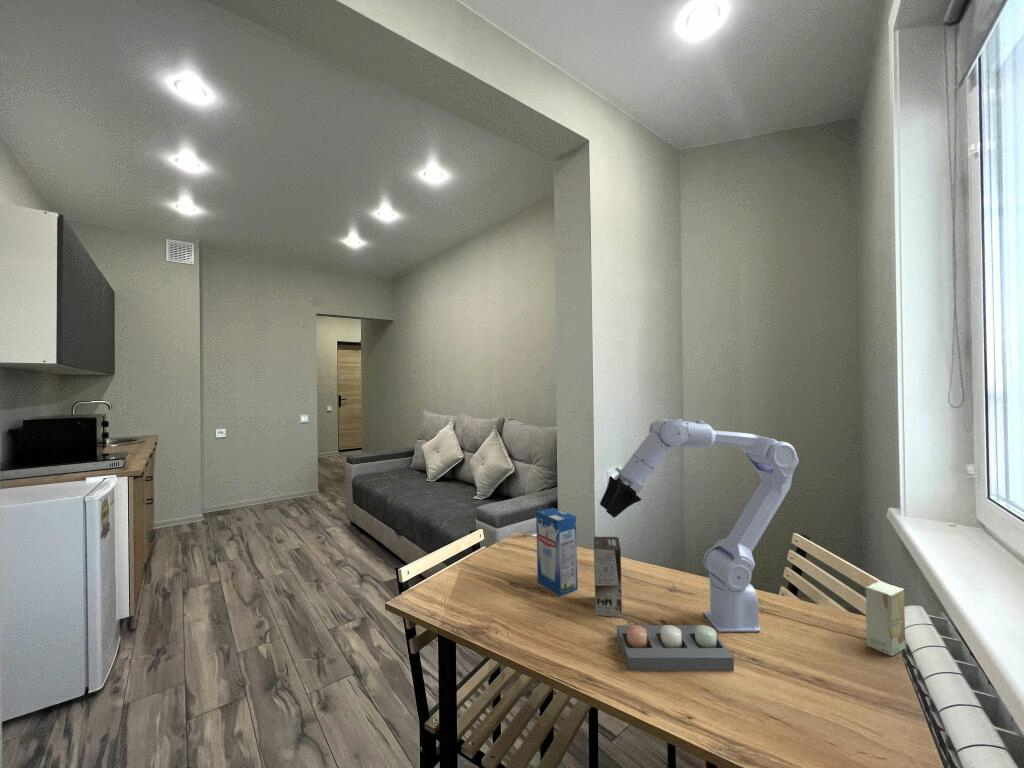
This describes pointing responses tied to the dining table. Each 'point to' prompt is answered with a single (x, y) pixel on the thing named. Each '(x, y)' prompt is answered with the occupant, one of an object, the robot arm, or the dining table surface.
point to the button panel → (674, 652)
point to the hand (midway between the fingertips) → (606, 510)
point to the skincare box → (885, 618)
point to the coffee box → (607, 576)
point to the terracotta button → (636, 637)
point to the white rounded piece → (671, 637)
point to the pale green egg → (705, 637)
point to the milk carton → (556, 551)
